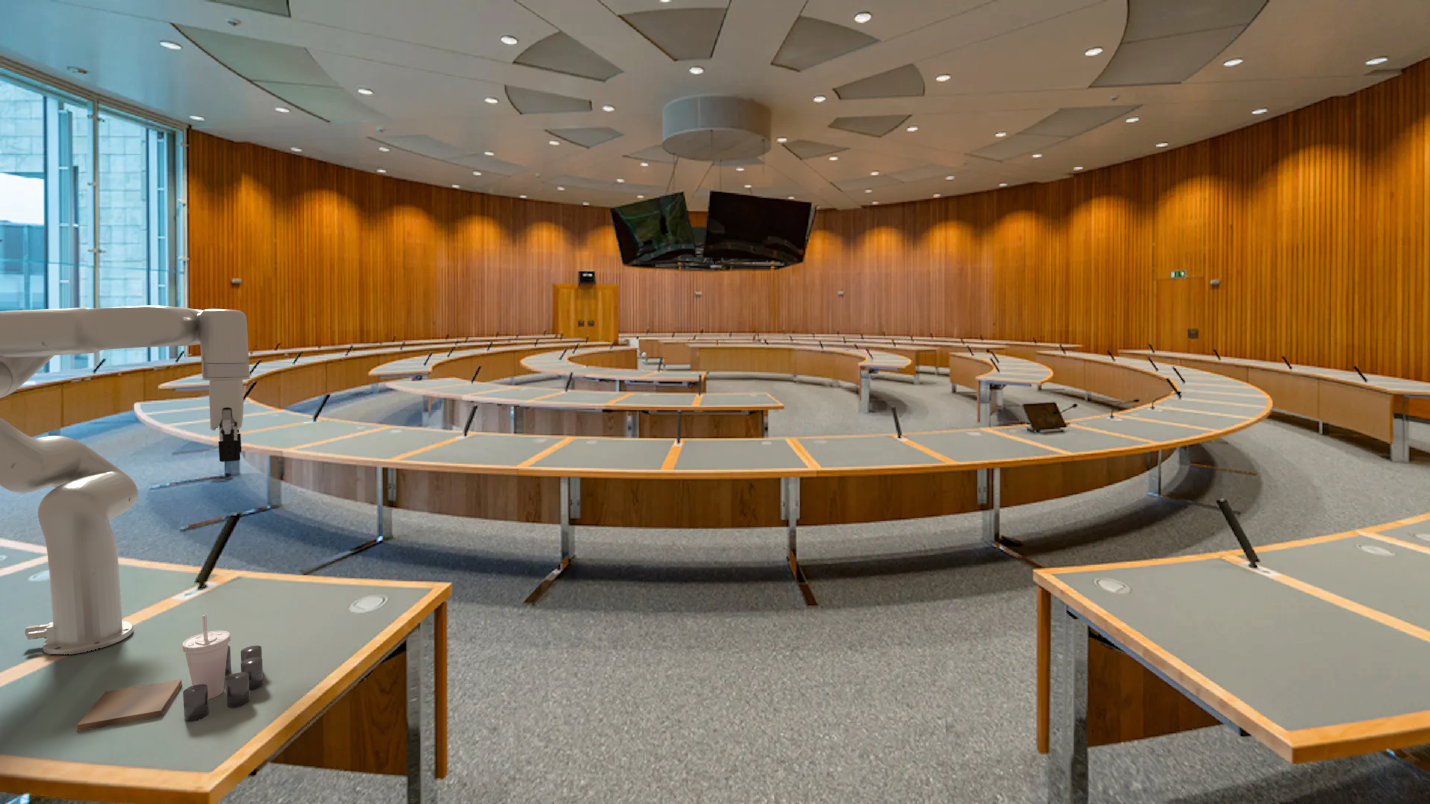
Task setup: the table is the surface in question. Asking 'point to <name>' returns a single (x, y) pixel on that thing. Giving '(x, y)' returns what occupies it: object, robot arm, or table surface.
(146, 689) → the walnut pad
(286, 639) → the table surface
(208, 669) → the smoothie
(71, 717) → the table surface
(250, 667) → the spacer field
